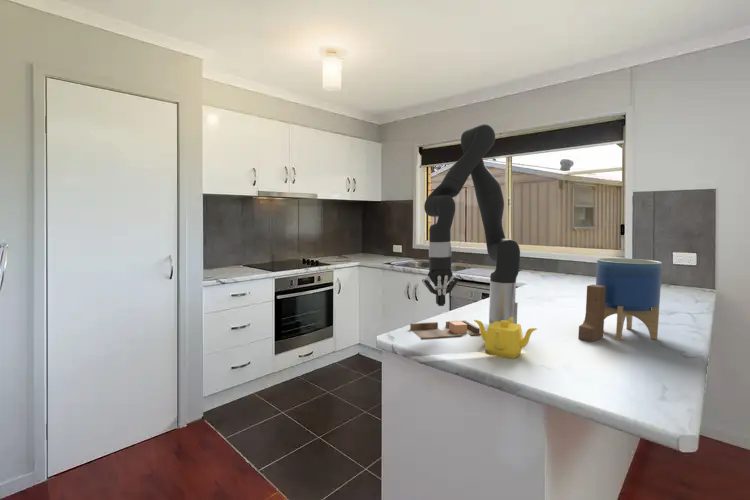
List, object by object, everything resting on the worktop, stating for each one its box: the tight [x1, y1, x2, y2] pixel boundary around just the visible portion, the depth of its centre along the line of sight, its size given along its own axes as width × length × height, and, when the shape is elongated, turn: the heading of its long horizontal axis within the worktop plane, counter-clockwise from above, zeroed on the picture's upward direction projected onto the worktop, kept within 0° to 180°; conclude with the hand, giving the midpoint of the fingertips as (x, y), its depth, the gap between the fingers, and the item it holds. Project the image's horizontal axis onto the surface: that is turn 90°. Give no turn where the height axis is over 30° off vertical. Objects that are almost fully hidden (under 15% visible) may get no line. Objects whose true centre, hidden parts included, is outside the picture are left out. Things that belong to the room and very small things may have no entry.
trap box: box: [409, 319, 481, 340], centre depth 134 cm, size 21×12×4 cm, turn 103°
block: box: [448, 320, 467, 334], centre depth 135 cm, size 4×4×3 cm
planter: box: [595, 257, 663, 341], centre depth 138 cm, size 19×19×26 cm
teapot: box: [473, 317, 538, 360], centre depth 119 cm, size 15×14×10 cm
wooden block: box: [578, 284, 606, 343], centre depth 133 cm, size 9×4×18 cm, turn 127°
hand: (440, 305), depth 133 cm, fingers closed
